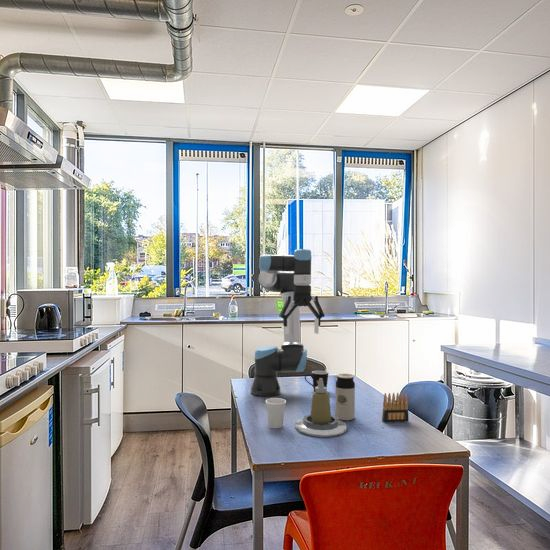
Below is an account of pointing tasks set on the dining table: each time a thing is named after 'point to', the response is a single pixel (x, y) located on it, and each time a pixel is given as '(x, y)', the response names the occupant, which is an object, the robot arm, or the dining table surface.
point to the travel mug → (345, 397)
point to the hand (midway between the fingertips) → (301, 333)
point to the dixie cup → (275, 412)
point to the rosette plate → (320, 432)
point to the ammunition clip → (395, 409)
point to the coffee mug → (316, 376)
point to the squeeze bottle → (320, 404)
